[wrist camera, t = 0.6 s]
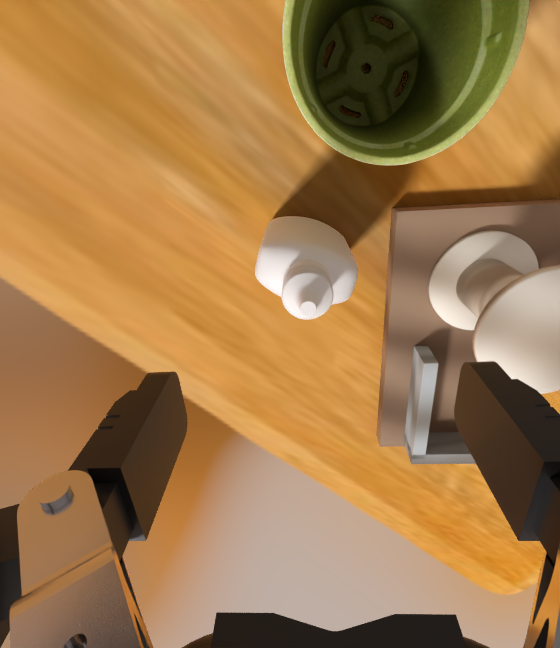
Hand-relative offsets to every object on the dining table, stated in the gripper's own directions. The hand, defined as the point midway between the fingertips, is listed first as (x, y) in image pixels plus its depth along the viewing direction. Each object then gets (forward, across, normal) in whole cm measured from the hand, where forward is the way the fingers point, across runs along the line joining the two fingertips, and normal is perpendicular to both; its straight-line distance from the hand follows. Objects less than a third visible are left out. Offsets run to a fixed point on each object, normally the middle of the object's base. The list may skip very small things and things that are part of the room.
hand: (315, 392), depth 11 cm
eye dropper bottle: (+18, 0, 0) cm, 18 cm away
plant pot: (+18, -4, -10) cm, 21 cm away
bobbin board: (+18, -12, +8) cm, 23 cm away
